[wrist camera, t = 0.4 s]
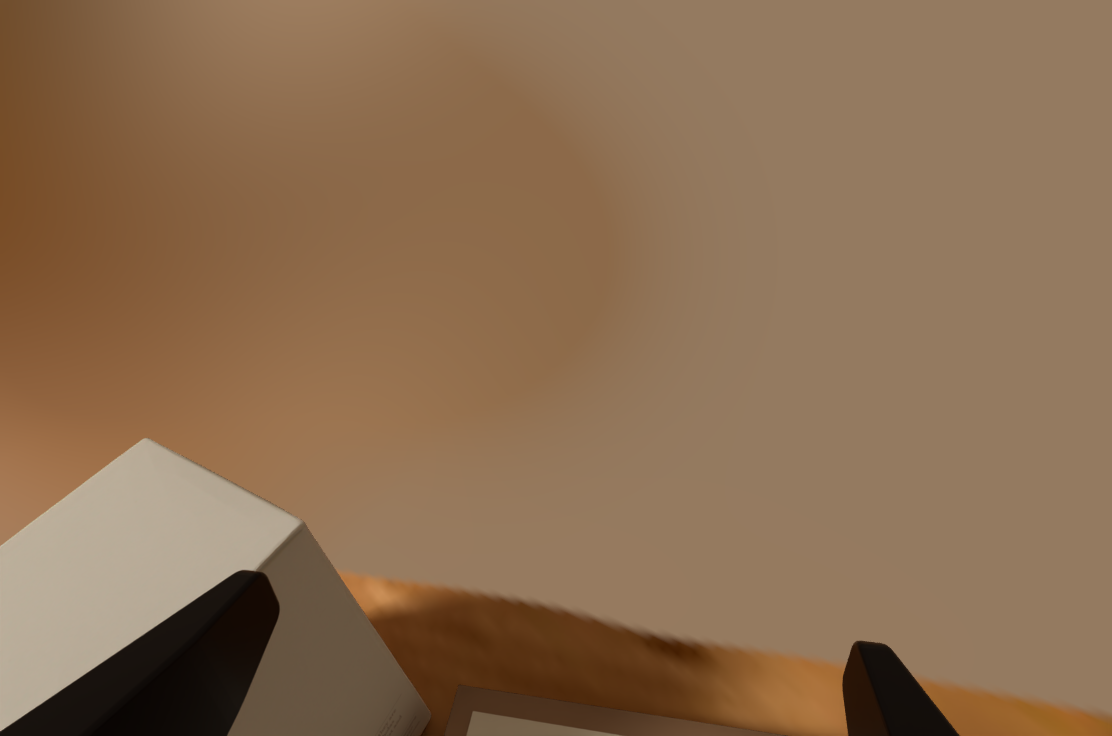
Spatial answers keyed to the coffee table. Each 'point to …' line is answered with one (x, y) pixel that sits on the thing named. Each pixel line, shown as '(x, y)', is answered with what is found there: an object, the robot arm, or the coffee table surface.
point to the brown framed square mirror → (563, 718)
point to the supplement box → (191, 598)
